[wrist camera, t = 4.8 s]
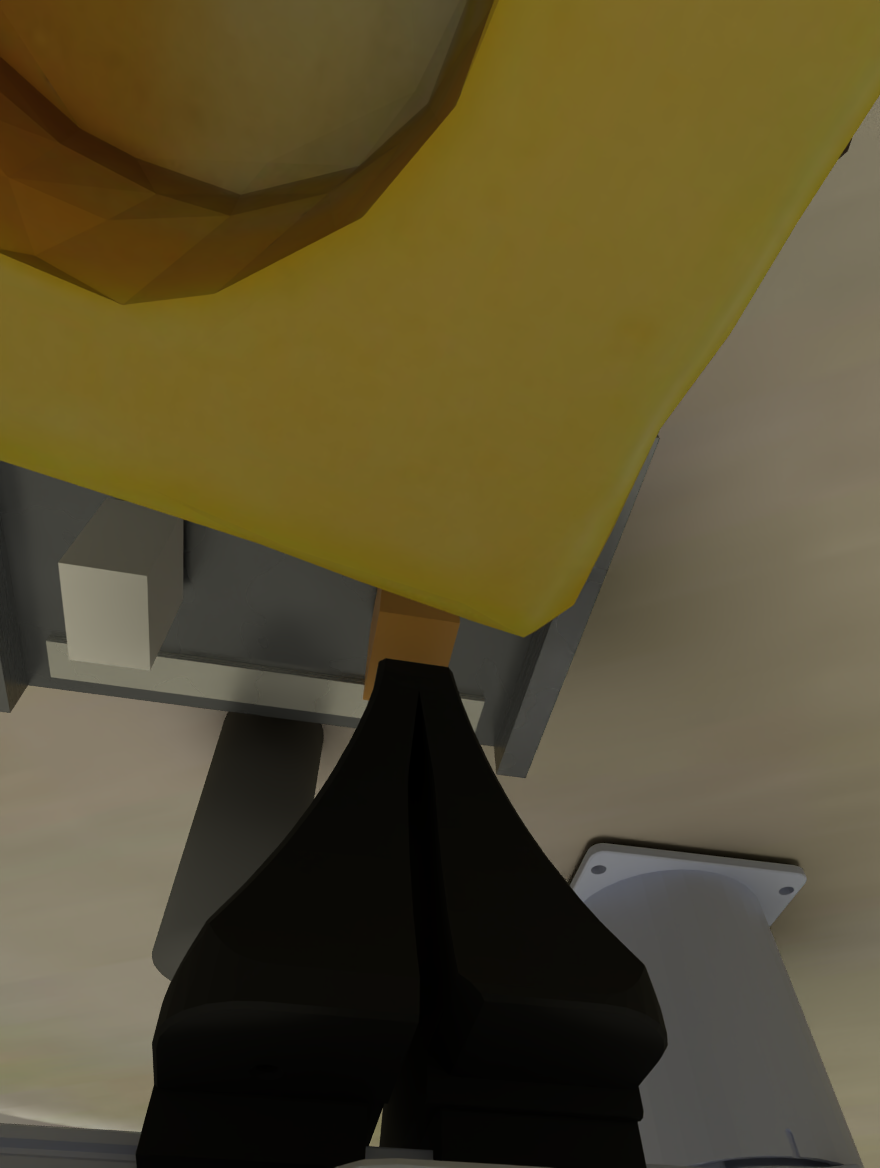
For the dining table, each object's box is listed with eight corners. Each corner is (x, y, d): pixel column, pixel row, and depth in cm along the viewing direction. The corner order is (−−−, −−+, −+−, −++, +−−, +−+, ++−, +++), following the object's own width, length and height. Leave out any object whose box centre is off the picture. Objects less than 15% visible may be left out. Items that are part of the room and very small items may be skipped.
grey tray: (516, 711, 22) (525, 778, 20) (21, 643, 20) (-25, 708, 18) (631, 391, 16) (660, 438, 14) (-40, 260, 15) (-115, 292, 13)
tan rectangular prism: (435, 636, 18) (436, 709, 16) (370, 626, 18) (362, 699, 16) (456, 554, 17) (459, 623, 15) (385, 543, 16) (379, 611, 14)
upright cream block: (183, 599, 17) (150, 670, 15) (112, 588, 17) (69, 659, 15) (183, 510, 16) (147, 575, 14) (106, 497, 16) (58, 562, 14)
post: (317, 772, 23) (281, 1000, 18) (221, 759, 23) (153, 989, 17) (328, 704, 22) (293, 932, 16) (225, 690, 21) (150, 919, 16)
